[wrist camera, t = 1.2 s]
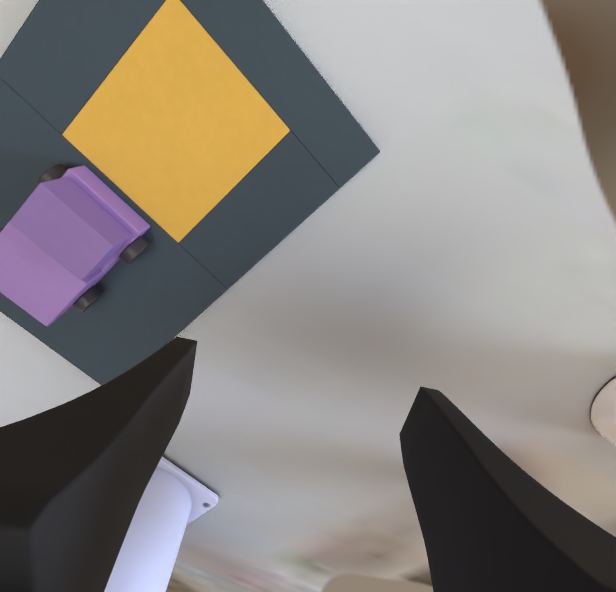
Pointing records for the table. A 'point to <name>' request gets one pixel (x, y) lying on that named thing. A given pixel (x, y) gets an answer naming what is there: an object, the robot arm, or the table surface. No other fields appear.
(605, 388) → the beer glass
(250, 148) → the play mat
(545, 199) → the table surface
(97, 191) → the toy truck
